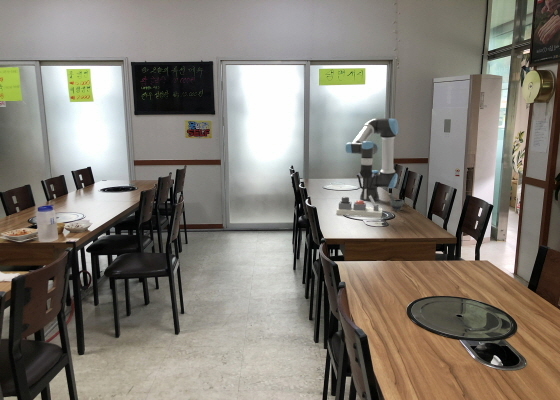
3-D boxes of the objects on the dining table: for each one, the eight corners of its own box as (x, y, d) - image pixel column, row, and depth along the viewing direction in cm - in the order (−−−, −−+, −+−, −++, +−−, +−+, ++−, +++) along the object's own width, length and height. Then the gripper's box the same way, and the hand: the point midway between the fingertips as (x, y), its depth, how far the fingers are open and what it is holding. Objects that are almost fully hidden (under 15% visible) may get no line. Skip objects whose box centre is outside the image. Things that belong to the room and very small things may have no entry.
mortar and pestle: (402, 208, 329) (402, 192, 327) (404, 211, 320) (405, 194, 317) (386, 208, 330) (387, 192, 327) (388, 211, 320) (389, 194, 318)
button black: (342, 203, 316) (342, 196, 315) (349, 204, 315) (349, 197, 314) (341, 205, 312) (341, 198, 311) (348, 205, 310) (348, 198, 310)
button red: (356, 207, 314) (356, 200, 313) (363, 207, 313) (363, 200, 312) (355, 208, 310) (356, 201, 309) (363, 209, 308) (363, 201, 308)
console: (339, 209, 323) (339, 200, 322) (382, 212, 316) (382, 202, 315) (336, 214, 308) (336, 204, 307) (381, 217, 301) (381, 206, 300)
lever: (375, 208, 311) (369, 196, 310) (377, 207, 310) (370, 195, 310) (375, 209, 307) (368, 197, 307) (377, 208, 307) (370, 196, 306)
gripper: (356, 164, 303) (354, 199, 307) (376, 165, 300) (374, 200, 304) (357, 163, 310) (355, 197, 315) (376, 164, 307) (375, 198, 311)
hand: (365, 198), depth 309 cm, fingers closed
